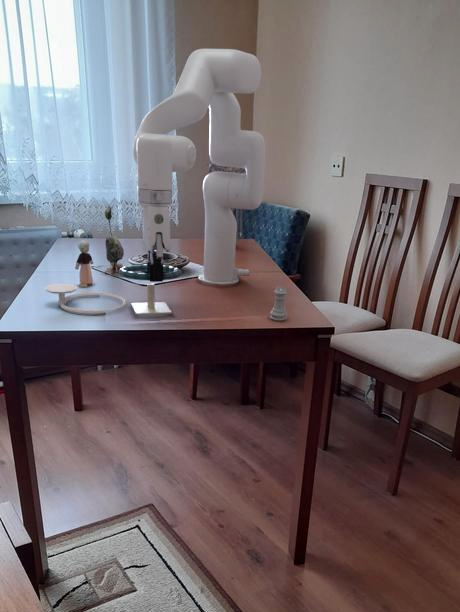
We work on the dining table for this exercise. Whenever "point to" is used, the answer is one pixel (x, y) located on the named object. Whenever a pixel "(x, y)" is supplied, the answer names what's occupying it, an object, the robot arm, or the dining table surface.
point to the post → (151, 304)
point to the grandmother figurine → (84, 264)
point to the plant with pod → (113, 249)
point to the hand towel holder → (70, 288)
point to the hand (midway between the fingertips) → (155, 279)
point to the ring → (130, 273)
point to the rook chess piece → (279, 305)
